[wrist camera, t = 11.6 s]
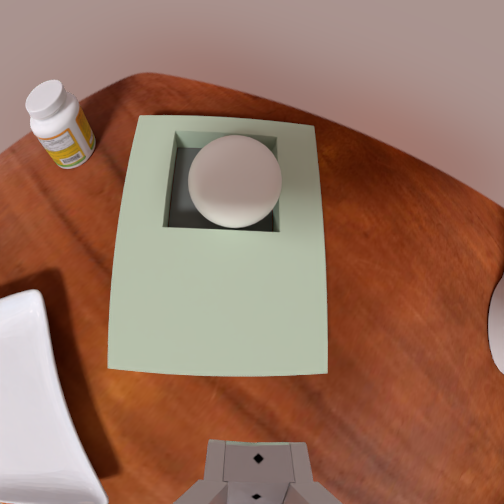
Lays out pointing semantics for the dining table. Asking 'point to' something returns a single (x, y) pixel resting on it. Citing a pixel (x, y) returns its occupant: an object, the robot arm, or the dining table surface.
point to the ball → (234, 181)
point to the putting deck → (218, 261)
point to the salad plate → (37, 415)
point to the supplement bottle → (60, 124)
